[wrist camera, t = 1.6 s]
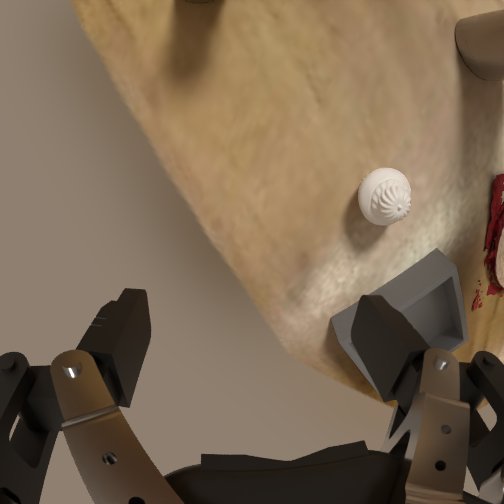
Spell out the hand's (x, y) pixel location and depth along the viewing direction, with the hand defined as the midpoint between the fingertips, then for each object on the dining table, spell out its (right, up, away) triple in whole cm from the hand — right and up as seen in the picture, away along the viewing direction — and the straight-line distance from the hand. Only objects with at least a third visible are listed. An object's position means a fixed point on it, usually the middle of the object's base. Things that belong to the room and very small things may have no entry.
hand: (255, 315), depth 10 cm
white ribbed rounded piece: (+13, +10, +20) cm, 26 cm away
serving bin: (+23, -8, +29) cm, 38 cm away
